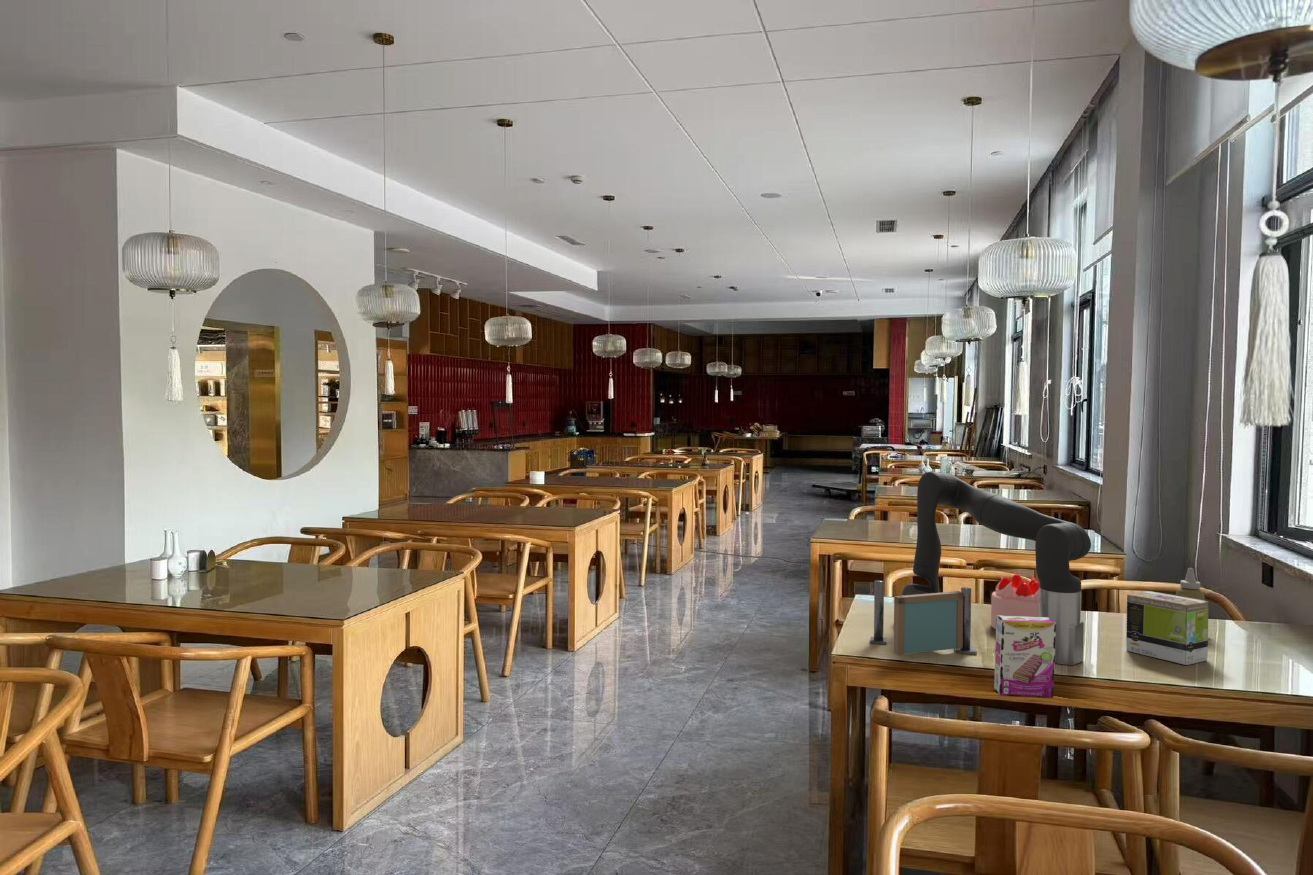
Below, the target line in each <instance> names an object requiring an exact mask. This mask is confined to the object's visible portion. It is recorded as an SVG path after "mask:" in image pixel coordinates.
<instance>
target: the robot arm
mask: <svg viewBox="0 0 1313 875" xmlns="http://www.w3.org/2000/svg"><path fill="white" fill-rule="evenodd" d="M916 490H917V491H916V494H917V495H916V497H917V498H916V502H917V503H916V504H917V505H916V506H917V508H916V509H917V511H916V518H917V520H916V521H917V523H916V524H917V527H916V528H917V532H916V533H917V535H916V546H915V552H914V560H913V566H912V572H913V575H915V576H918V577H920V578H923V579H924V580H926V581H927V582H928V583H929V585H923V584H918V583H908V584H907V585H905V586H904V587H903V589H902V593H901V596H905V595H917V594H930V593H941V591H940V583H939V571H940V565H941V564H940V563H941V559H942V558H941V557H942V542H941V538H940V534H939V533H938V527H937V523H936V512H937V508H938V506H942V507H943V506H944V507H949V508H950V507H951V508H954V509H958V510H960V511H962V512H965V513H968V514H969V515H970V517H972V519H974V521H975V522H977V523H978V524H980V525H981V526H983V527H985V528H987V529H990V530H991V531H993V532H995V533H998V534H1001V535H1003V536H1009V537H1014V538H1018V539H1025V540H1029V541H1030V540H1031V541H1033V542H1035V544H1034V545H1035V547H1034V548H1035V555H1034V556H1035V572H1036V577H1037V579H1038V583H1039V617H1047V618H1050V619H1051V620H1053V621H1054V622H1055V623H1056V636H1055V664H1056V665H1057V664H1058V665H1069V666H1070V665H1071V666H1075V665H1077V664H1079V663H1081V662H1083V661H1084V635H1085V634H1084V630H1085V629H1084V627H1085V623H1084V621H1081V615H1082V581H1081V579H1080V578H1079V577H1078V576H1074V575H1073V574H1072V572H1070V571H1071V570H1070V561H1077V560H1080V559H1083V558H1084V557H1085V556H1087V555H1088V553H1089V552H1090V551H1091V548H1092V541H1091V537H1090V536H1089V533H1088V532H1087V531H1086V530H1085V529H1084V528H1083V527H1082V526H1080V525H1078V524H1077V523H1074V522H1070V521H1067V520H1064V519H1063V520H1062V519H1059V518H1055V517H1052V516H1049V515H1046V514H1044V513H1041V512H1039V511H1036V510H1035V509H1032V508H1031V507H1028V506H1025V505H1023V504H1021V503H1018V502H1016V501H1015V500H1012V499H1009V498H1006V497H1005V496H1003V495H999V494H997V493H993V492H991V491H987V490H985V489H984V490H983V489H980V488H978V487H976V486H973V485H971V484H969V483H967V482H966V481H964V480H962V479H960V478H959V477H957V476H954V475H953V474H949V473H944V472H936V471H927V472H925V473H924V474H923V475H921V477H920V478H919V481H918V484H917V489H916Z"/></svg>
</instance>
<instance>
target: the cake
mask: <svg viewBox="0 0 1313 875" xmlns="http://www.w3.org/2000/svg"><path fill="white" fill-rule="evenodd" d="M990 600H991V602H990V604H991V605H990V608H991V610H990V611H991V612H990V625H991V627H992V628H993V629H994V630H996V616H998V615H1000V616H1024V617H1039V581H1037V580H1036V578H1035V576H1034V575H1033V574H1032V575H1031V579H1030V581H1027V580H1025V579H1023V578H1022V576H1021V575H1020V574H1013V575H1012V576H1011V578H1009V577H1005V576H1004V577H1003V576H1002V575H1000V581H999V582H998V583H997V584H996V586H995V591H993V592H992V593H991V599H990Z"/></svg>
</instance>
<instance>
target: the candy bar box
mask: <svg viewBox="0 0 1313 875" xmlns="http://www.w3.org/2000/svg"><path fill="white" fill-rule="evenodd" d="M1055 636H1056V623H1055V622H1054V621H1053V620H1051V619H1050V618H1047V617H1024V616H1000V615H998V616H996V629H995V652H994V653H995V654H994V680H993V687H994V688H993V689H994V690H995V692H996V693H997V694H998V695H999V696H1000V697H1014V698H1015V697H1017V698H1018V697H1019V698H1043V699H1054V694H1055V693H1054V692H1055V691H1054V690H1055V684H1054V683H1055V667H1056V666H1055V665H1056V663H1055Z"/></svg>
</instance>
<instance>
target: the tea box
mask: <svg viewBox="0 0 1313 875" xmlns="http://www.w3.org/2000/svg"><path fill="white" fill-rule="evenodd" d="M1125 636H1126V640H1125V642H1126V646H1125V647H1126V649H1125V650H1126V652H1130V653H1135V654H1139V655H1142V656H1147V657H1151V658H1156V659H1159V660H1164V661H1168V662H1171V663H1176V664H1181V665H1183V666H1187V665H1193V664H1198V663H1202V662H1206V661H1207V660H1208V656H1209V655H1208V651H1209V650H1208V648H1209V601H1207V600H1198V599H1192V598H1187V597H1181V596H1176V594H1168V593H1163V592H1157V591H1151V590H1150V591H1149V590H1148V591H1140V592H1136V593H1135V592H1133V593H1129V594H1126V635H1125Z"/></svg>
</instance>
